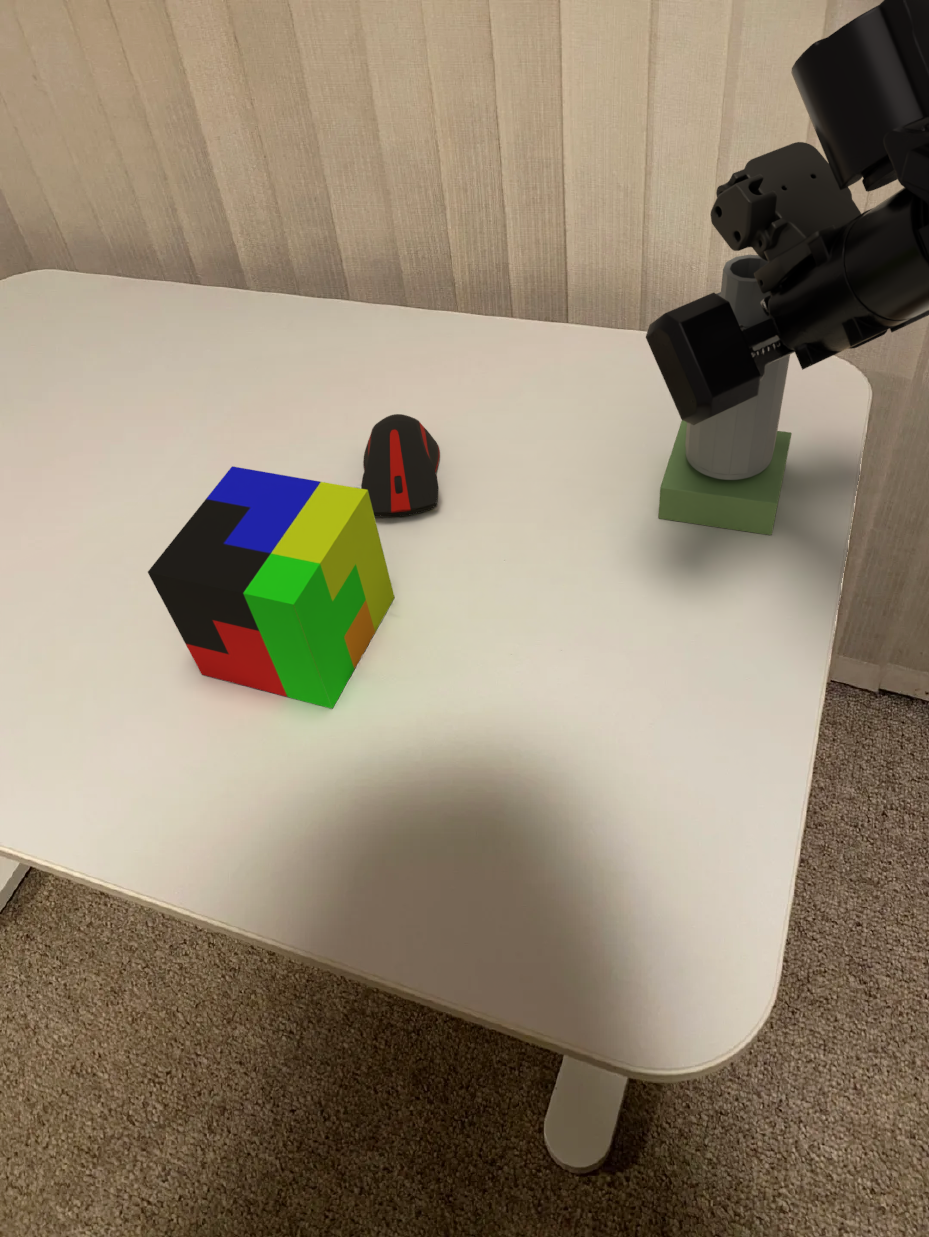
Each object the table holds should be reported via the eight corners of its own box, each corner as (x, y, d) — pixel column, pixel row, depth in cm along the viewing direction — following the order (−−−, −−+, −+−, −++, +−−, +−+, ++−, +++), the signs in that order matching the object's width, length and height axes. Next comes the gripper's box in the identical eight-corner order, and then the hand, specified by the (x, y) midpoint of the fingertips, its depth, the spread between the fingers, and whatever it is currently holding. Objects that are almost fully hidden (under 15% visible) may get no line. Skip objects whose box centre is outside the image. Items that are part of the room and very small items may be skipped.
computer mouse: (362, 529, 70) (352, 489, 67) (364, 440, 78) (354, 401, 75) (444, 518, 70) (437, 478, 67) (438, 431, 77) (431, 390, 74)
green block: (771, 535, 65) (777, 503, 63) (658, 518, 67) (660, 487, 65) (785, 464, 70) (791, 432, 68) (679, 450, 72) (681, 419, 70)
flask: (764, 486, 63) (795, 298, 53) (676, 472, 65) (689, 288, 55) (779, 433, 67) (811, 247, 56) (695, 422, 69) (711, 240, 58)
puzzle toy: (272, 571, 68) (231, 466, 61) (394, 597, 65) (367, 489, 58) (201, 674, 62) (147, 572, 55) (332, 708, 59) (293, 604, 52)
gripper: (966, 60, 48) (787, 201, 63) (676, 170, 43) (557, 294, 58) (1046, 260, 49) (850, 352, 64) (770, 389, 44) (629, 455, 59)
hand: (725, 359), depth 61 cm, fingers closed on flask, 6 cm apart
